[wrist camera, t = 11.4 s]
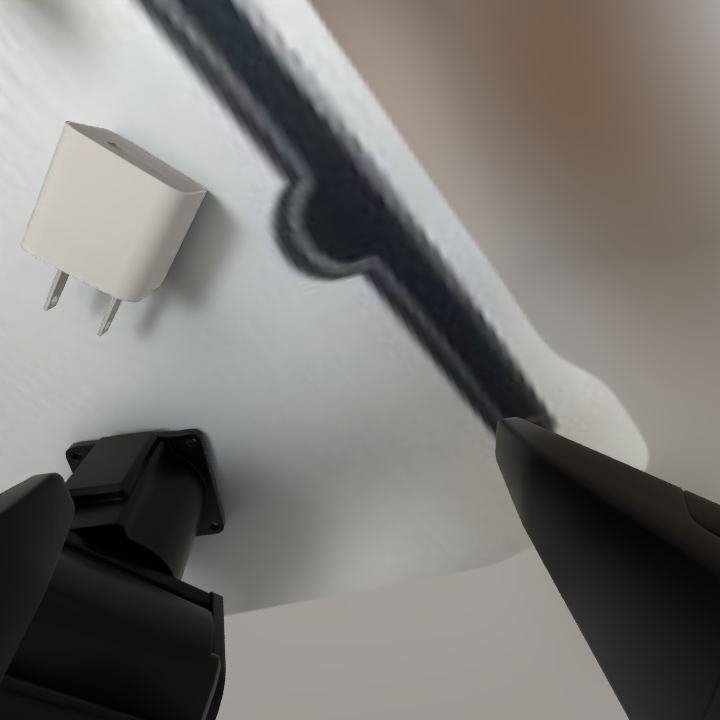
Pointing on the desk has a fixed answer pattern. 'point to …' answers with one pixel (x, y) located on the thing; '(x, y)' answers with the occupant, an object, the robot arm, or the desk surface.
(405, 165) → the desk surface
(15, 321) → the desk surface
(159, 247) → the usb wall charger
